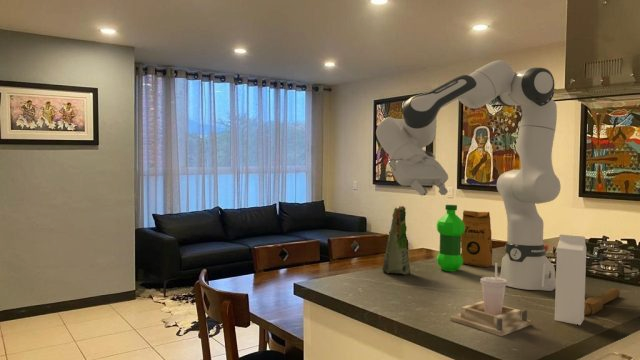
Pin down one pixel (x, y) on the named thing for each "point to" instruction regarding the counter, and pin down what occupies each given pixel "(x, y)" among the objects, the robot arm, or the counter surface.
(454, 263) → the plastic bottle
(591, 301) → the tap handle
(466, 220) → the coffee package
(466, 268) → the counter surface
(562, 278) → the milk
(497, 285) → the smoothie
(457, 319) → the holder
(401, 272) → the pouch
